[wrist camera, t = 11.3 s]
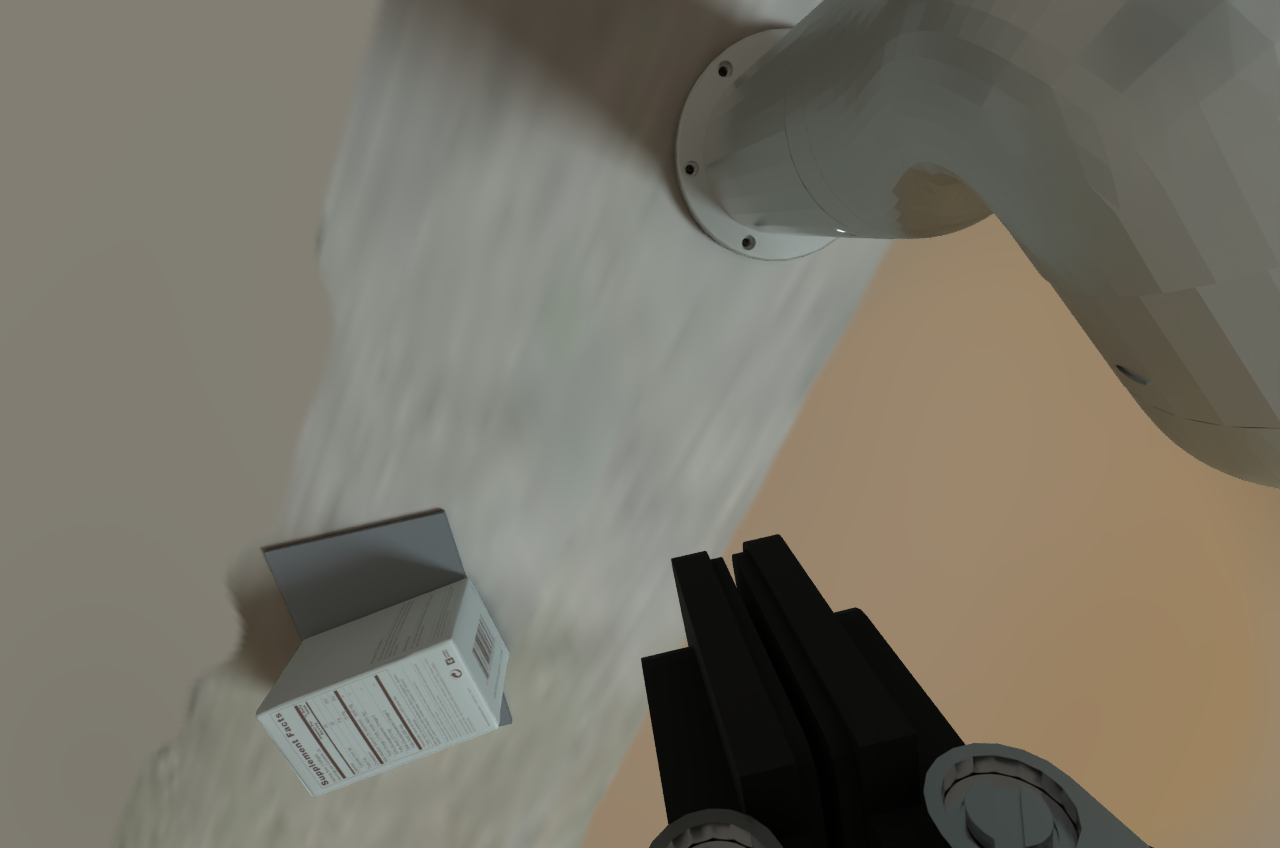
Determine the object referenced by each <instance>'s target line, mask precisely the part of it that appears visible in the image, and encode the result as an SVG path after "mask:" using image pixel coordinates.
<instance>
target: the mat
mask: <svg viewBox="0 0 1280 848" xmlns="http://www.w3.org/2000/svg"><path fill="white" fill-rule="evenodd" d="M264 554H265V557H266V559H267V561H268V564H269V566H270V568H271V570H272V573H273V575H274V577H275V580H276V582H277V584H278V587H279V589H280V591H281V593H282V596H283V598H284V600H285V603H286V605H287V607H288V610H289V612H290V614H291V616H292V619H293V621H294V623H295V626H296V628H297V630H298V633H299V635H300V637H301V640H302V641H303V640H305V639H307V638H310V637H312V636H315V635H317V634H320V633H323V632H325V631H328V630H331V629H333V628H336V627H339V626H341V625H344V624H346V623H349V622H352V621H354V620H357V619H360V618H362V617H365V616H368V615H370V614H373V613H375V612H378V611H381V610H383V609H386V608H388V607H391V606H394V605H397V604H399V603H402V602H404V601H407V600H410V599H412V598H415V597H418V596H420V595H423V594H425V593H428V592H431V591H433V590H436V589H438V588H441V587H444V586H446V585H449V584H452V583H454V582H457V581H460V580H462V579H465V578H466V575H465V572H464V569H463V566H462V563H461V560H460V557H459V554H458V551H457V547H456V544H455V541H454V538H453V535H452V532H451V529H450V526H449V523H448V520H447V517H446V513H445V510H444V511H439V512H435V513H430V514H426V515H421V516H417V517H412V518H408V519H403V520H399V521H394V522H390V523H385V524H381V525H376V526H372V527H367V528H363V529H358V530H354V531H349V532H345V533H340V534H336V535H331V536H327V537H322V538H318V539H314V540H309V541H305V542H300V543H296V544H291V545H287V546H282V547H278V548H273V549H269V550H266V551H265V552H264ZM511 723H512V717H511V714H510V711H509V708H508V705H507V702H506V699H505V696H504V693H503V694H502V701H501V708H500V723H499V726H503V725H507V724H511ZM499 726H498V727H499Z"/></svg>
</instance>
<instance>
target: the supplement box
mask: <svg viewBox="0 0 1280 848" xmlns="http://www.w3.org/2000/svg"><path fill="white" fill-rule="evenodd" d="M509 656H510V655H509V652H508V650H507V648H506V646H505V644H504V642H503V640H502V638H501V636H500V634H499V632H498V630H497V629H496V627H495V625H494V623H493V621H492V619H491V617H490V615H489V614H488V612H487V609H486V608H485V606H484V604H483V602H482V600H481V598H480V596H479V595H478V593H477V591H476V589H475V587H474V585H473V584H472V582H471V580H470V579H469V578H468V577H467V578H465V579H462V580H460V581H457V582H454V583H452V584H449V585H446V586H444V587H441V588H438V589H436V590H433V591H431V592H428V593H425V594H423V595H420V596H418V597H415V598H412V599H410V600H407V601H404V602H402V603H399V604H397V605H394V606H391V607H388V608H386V609H383V610H381V611H378V612H375V613H373V614H370V615H368V616H365V617H362V618H360V619H357V620H354V621H352V622H349V623H346V624H344V625H341V626H339V627H336V628H333V629H331V630H328V631H325V632H323V633H320V634H317V635H315V636H312V637H310V638H307V639H305V640H303V641H302V643H301V645H300V646H299V648H298V649H297V651H296V652H295V654H294V656H293V657H292V659H291V660H290V662H289V663H288V665H287V666H286V668H285V669H284V670H283V672H282V673H281V675H280V677H279V678H278V680H277V681H276V683H275V684H274V686H273V687H272V689H271V690H270V692H269V693H268V695H267V697H266V698H265V699H264V701H263V702H262V704H261V705H260V707H259V708H258V710H257V712H256V718H257V719H258V721H259V722H260V723H261V725H262V726H263V727H264V729H265V730H266V731H267V733H268V734H269V735H270V737H271V738H272V740H273V741H274V743H275V744H276V746H277V747H278V749H279V750H280V752H281V753H282V755H283V756H284V758H285V759H286V760H287V762H288V763H289V765H290V766H291V768H292V769H293V770H294V772H295V773H296V775H297V776H298V778H299V779H300V780H301V782H302V783H303V785H304V786H305V788H306V789H307V790H308V792H309V793H310V794H311V796H312V797H313V798H316V797H318V796H320V795H323V794H326V793H328V792H331V791H334V790H337V789H339V788H342V787H345V786H347V785H350V784H352V783H355V782H358V781H361V780H363V779H366V778H369V777H371V776H374V775H377V774H379V773H382V772H385V771H388V770H390V769H393V768H395V767H398V766H401V765H404V764H406V763H409V762H411V761H414V760H417V759H419V758H422V757H425V756H427V755H430V754H433V753H436V752H438V751H441V750H443V749H446V748H449V747H451V746H454V745H457V744H459V743H462V742H465V741H467V740H470V739H472V738H475V737H477V736H480V735H483V734H486V733H488V732H491V731H493V730H496V729H497V728H498V726H499V723H500V708H501V701H502V694H503V686H504V679H505V673H506V667H507V662H508V658H509Z"/></svg>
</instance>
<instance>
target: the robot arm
mask: <svg viewBox="0 0 1280 848" xmlns="http://www.w3.org/2000/svg"><path fill="white" fill-rule="evenodd" d="M720 68H723V69H724V70H725V71H726V75H725V77H721V76H720V75H719V73H718V71H719V69H720ZM674 158H675V167H676V175H677V180H678V184H679V187H680V190H681V193H682V197H683V199H684V201H685V203H686V205H687V207H688V209H689V211H690V213H691V215H692V216H693V218H694V219H695V220H696V221H697V223H698V224H699V225H700V227H701V228H702V229H703V230H704V232H706V233H707V234H708V235H709V236H710V237H711V238H713V239H714V240H715V241H716V242H717V243H718V244H720V245H722V246H723V247H725V248H727V249H729V250H731V251H732V252H734V253H736V254H740V255H743V256H746V257H749V258H753V259H759V260H765V261H786V260H790V259H795V258H800V257H804V256H807V255H809V254H811V253H814V252H816V251H819V250H821V249H823V248H824V247H826V246H827V245H829V244H830V243H832V242H833V241H835V240H836V239H838V238H839V237H846V238H872V239H918V238H931V237H937V236H942V235H946V234H950V233H954V232H957V231H960V230H962V229H965V228H967V227H970V226H972V225H974V224H976V223H978V222H980V221H982V220H984V219H985V218H987V217H989V216H990V215H992V214H993V213H994V214H995V215H996V216H997V217H998V219H999V220H1000V221H1001V222H1002V224H1003V225H1004V226H1005V227H1006V228H1007V230H1008V231H1009V232H1010V234H1011V235H1012V236H1013V238H1014V239H1015V241H1016V242H1017V243H1018V245H1019V246H1020V247H1021V249H1022V250H1023V252H1024V253H1025V255H1026V256H1027V257H1028V259H1029V260H1030V261H1031V263H1032V264H1033V266H1034V267H1035V268H1036V270H1037V271H1038V273H1039V274H1040V275H1041V276H1042V277H1043V278H1044V279H1045V280H1047V281H1048V282H1049V283H1050V284H1051V285H1052V287H1053V288H1054V289H1055V291H1056V292H1057V294H1058V295H1059V297H1060V298H1061V299H1062V301H1063V302H1064V303H1065V305H1066V306H1067V308H1068V309H1069V310H1070V312H1071V313H1072V315H1073V316H1074V317H1075V319H1076V320H1077V322H1078V323H1079V324H1080V326H1081V327H1082V329H1083V330H1084V331H1085V333H1086V334H1087V336H1088V337H1089V338H1090V340H1091V341H1092V342H1093V344H1094V345H1095V347H1096V348H1097V349H1098V351H1099V352H1100V353H1101V355H1102V356H1103V358H1104V359H1105V361H1106V362H1107V363H1108V365H1109V366H1110V368H1111V369H1112V370H1113V372H1114V373H1115V374H1116V376H1117V377H1118V379H1119V380H1120V381H1121V383H1122V384H1123V386H1124V387H1126V389H1127V390H1128V391H1129V392H1130V394H1131V395H1132V397H1133V398H1134V399H1135V401H1136V402H1137V403H1138V405H1139V406H1140V407H1141V409H1142V410H1143V411H1144V412H1145V413H1146V414H1147V416H1148V417H1149V418H1150V419H1151V420H1152V421H1153V423H1154V424H1155V425H1156V426H1157V427H1158V428H1159V429H1160V430H1161V431H1162V432H1163V433H1164V434H1165V435H1166V436H1167V437H1168V438H1170V440H1172V441H1173V442H1174V443H1175V444H1176V445H1177V446H1179V447H1180V448H1182V449H1183V450H1184V451H1186V452H1187V453H1189V454H1190V455H1192V456H1193V457H1195V458H1196V459H1198V460H1199V461H1201V462H1203V463H1205V464H1207V465H1208V466H1210V467H1212V468H1214V469H1217V470H1219V471H1221V472H1224V473H1226V474H1228V475H1231V476H1234V477H1236V478H1239V479H1241V480H1244V481H1248V482H1252V483H1256V484H1259V485H1263V486H1268V487H1273V488H1278V489H1280V0H824V1H822V2H821V3H820V4H819V5H818V6H817V7H816V8H815V9H813V10H812V11H811V12H810V13H809V14H808V15H807V16H806V17H805V18H803V19H802V20H801V21H800V22H799V23H798V24H797V25H796V26H794V27H793V28H783V29H771V30H766V31H763V32H760V33H756V34H753V35H750V36H747V37H746V38H744V39H742V40H740V41H739V42H737V43H735V44H733V45H731V46H730V47H728V48H727V49H726V50H725V51H724V52H722V53H721V54H720V55H719V56H718V57H717V58H715V59H714V60H713V61H712V62H711V63H710V64H709V65H708V67H707V68H706V69H705V70H704V71H703V72H702V74H701V75H700V77H699V78H698V80H697V81H696V83H695V84H694V86H693V87H692V89H691V90H690V92H689V94H688V96H687V99H686V101H685V103H684V106H683V108H682V110H681V113H680V117H679V122H678V126H677V130H676V134H675V152H674ZM688 165H690V166H691V167H692V168H693V172H692V174H687V173H686V171H685V170H686V167H687V166H688ZM745 238H747V239H748V241H749V243H748V245H747V246H746V247H744V246H743V245H742V241H743V239H745ZM732 561H733V568H734V574H735V580H736V585H735V583H734V581H733V579H732V577H731V575H730V572H729V570H728V568H727V566H726V564H725V562H724V560H723V558H722V557H719V558H715V559H711V560H710V558H709V556H708V553H707V552H706V551H703V552H698V553H694V554H689V555H685V556H681V557H676V558H672V559H671V562H672V567H673V573H674V578H675V582H676V587H677V592H678V597H679V602H680V607H681V612H682V617H683V622H684V627H685V632H686V637H687V642H688V646H689V647H686V648H682V649H677V650H673V651H669V652H665V653H660V654H656V655H652V656H648V657H643V658H641V662H642V668H643V674H644V680H645V687H646V693H647V699H648V705H649V711H650V717H651V723H652V729H653V734H654V740H655V747H656V753H657V758H658V764H659V771H660V777H661V783H662V789H663V795H664V801H665V807H666V813H667V819H668V826H667V827H666V828H665V829H664V830H663V831H662V832H661V833H660V834H659V835H658V836H657V837H656V838H655V839H654V840H653V841H652V843H651V845H650V847H649V848H1153V847H1150V846H1148V845H1147V844H1146V843H1145V842H1143V841H1142V840H1141V839H1140V838H1139V837H1138V836H1137V835H1136V834H1134V833H1133V832H1132V831H1131V830H1130V829H1129V828H1127V827H1126V826H1125V825H1124V824H1123V823H1122V822H1121V821H1120V820H1119V819H1117V818H1116V817H1115V816H1114V815H1113V814H1112V813H1111V812H1109V811H1108V810H1107V809H1106V808H1105V807H1104V806H1103V805H1101V804H1100V803H1099V802H1098V801H1097V800H1096V799H1095V798H1094V797H1092V796H1091V795H1090V794H1089V793H1088V792H1087V791H1086V790H1085V789H1083V788H1082V787H1081V786H1080V785H1079V784H1078V783H1076V782H1075V781H1074V780H1073V779H1072V778H1071V777H1070V776H1068V775H1067V774H1065V773H1064V772H1063V771H1061V770H1060V769H1058V768H1057V767H1056V766H1054V765H1053V764H1051V763H1050V762H1048V761H1046V760H1044V759H1042V758H1040V757H1038V756H1035V755H1033V754H1031V753H1029V752H1027V751H1025V750H1022V749H1018V748H1013V747H1009V746H1005V745H1001V744H988V743H987V744H986V743H973V744H969V745H965V744H964V742H963V741H962V740H961V738H960V737H959V736H958V734H957V733H956V732H955V731H954V729H953V728H952V727H951V725H950V724H949V723H948V721H947V720H946V719H945V717H944V716H943V715H942V714H941V712H940V711H939V710H938V708H937V707H936V706H935V705H934V703H933V702H932V700H931V699H930V698H929V697H928V696H927V694H926V693H925V692H924V690H923V689H922V687H921V686H920V685H919V684H918V682H917V681H916V680H915V678H914V677H913V676H912V674H911V673H910V672H909V671H908V669H907V668H906V667H905V665H904V664H903V663H902V661H901V660H900V659H899V658H898V656H897V655H896V654H895V652H894V651H893V650H892V648H891V647H890V646H889V644H888V643H887V642H886V640H885V639H884V638H883V636H882V635H881V634H880V633H879V631H878V630H877V629H876V628H875V626H874V625H873V623H872V622H871V621H870V620H869V618H868V617H867V616H866V615H865V614H864V613H863V611H862V610H861V609H858V608H851V609H847V610H843V611H839V612H835V613H833V611H832V610H831V608H830V607H829V605H828V604H827V602H826V601H825V599H824V598H823V597H822V595H821V594H820V592H819V591H818V589H817V588H816V586H815V585H814V583H813V582H812V580H811V579H810V578H809V576H808V575H807V573H806V572H805V570H804V569H803V567H802V566H801V565H800V563H799V562H798V560H797V559H796V557H795V556H794V554H793V553H792V551H791V550H790V548H789V547H788V546H787V544H786V543H785V541H784V540H783V538H782V537H781V536H780V535H779V534H777V535H773V536H768V537H764V538H759V539H755V540H750V541H746V542H744V543H743V552H741V553H737V554H733V555H732ZM736 586H737V587H736Z"/></svg>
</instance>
